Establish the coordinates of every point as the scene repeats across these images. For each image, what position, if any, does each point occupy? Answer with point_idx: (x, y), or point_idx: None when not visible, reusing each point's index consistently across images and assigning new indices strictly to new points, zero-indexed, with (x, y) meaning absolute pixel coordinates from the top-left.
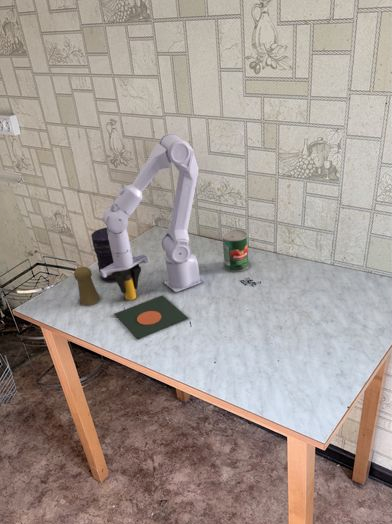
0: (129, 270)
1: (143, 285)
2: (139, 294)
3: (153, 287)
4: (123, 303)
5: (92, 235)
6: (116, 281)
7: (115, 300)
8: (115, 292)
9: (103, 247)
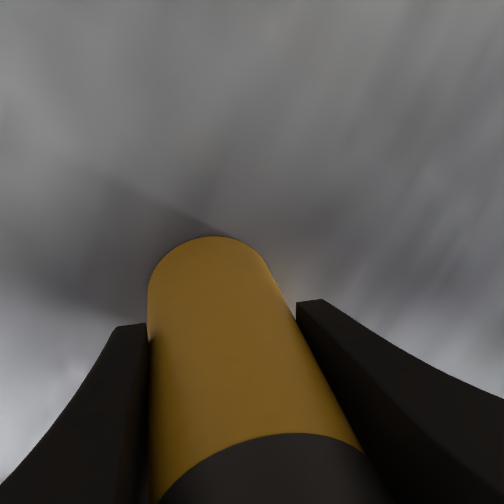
0: (450, 500)
1: (444, 118)
2: (311, 281)
3: (487, 229)
4: None
5: None
6: (39, 455)
7: (20, 258)
8: (67, 49)
9: None
